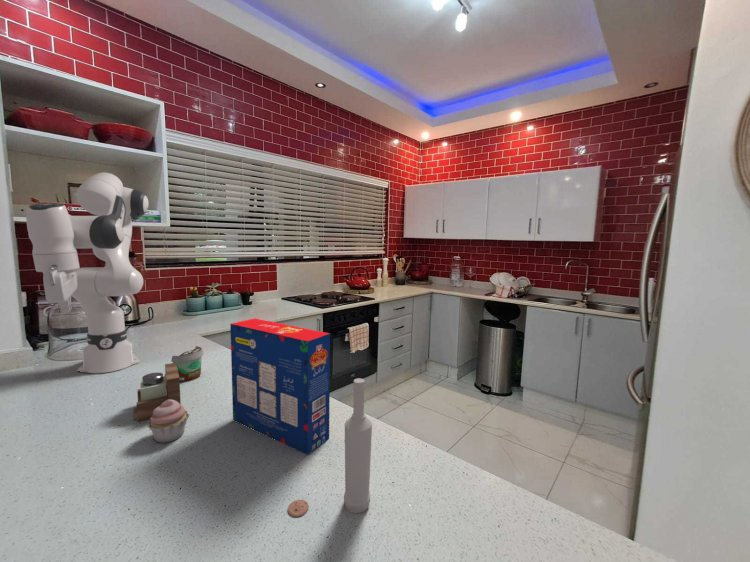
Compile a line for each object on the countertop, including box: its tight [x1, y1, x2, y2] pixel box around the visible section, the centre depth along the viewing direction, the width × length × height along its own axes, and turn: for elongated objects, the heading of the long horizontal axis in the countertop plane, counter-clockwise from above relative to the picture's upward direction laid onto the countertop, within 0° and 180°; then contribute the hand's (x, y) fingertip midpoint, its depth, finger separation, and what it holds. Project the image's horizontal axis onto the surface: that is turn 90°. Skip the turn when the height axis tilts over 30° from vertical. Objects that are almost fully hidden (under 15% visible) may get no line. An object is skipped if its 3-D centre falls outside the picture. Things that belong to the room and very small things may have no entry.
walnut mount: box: [133, 362, 182, 423], centre depth 98 cm, size 14×11×11 cm
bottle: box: [343, 377, 373, 514], centre depth 63 cm, size 5×5×25 cm
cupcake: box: [146, 399, 190, 444], centre depth 84 cm, size 9×9×10 cm
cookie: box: [287, 499, 310, 518], centre depth 63 cm, size 4×4×1 cm
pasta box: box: [230, 317, 331, 456], centre depth 88 cm, size 28×8×28 cm, turn 59°
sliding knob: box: [139, 372, 167, 401], centre depth 97 cm, size 7×6×10 cm
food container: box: [171, 345, 205, 383], centre depth 121 cm, size 12×6×10 cm, turn 168°
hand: (66, 312), depth 93 cm, fingers closed
